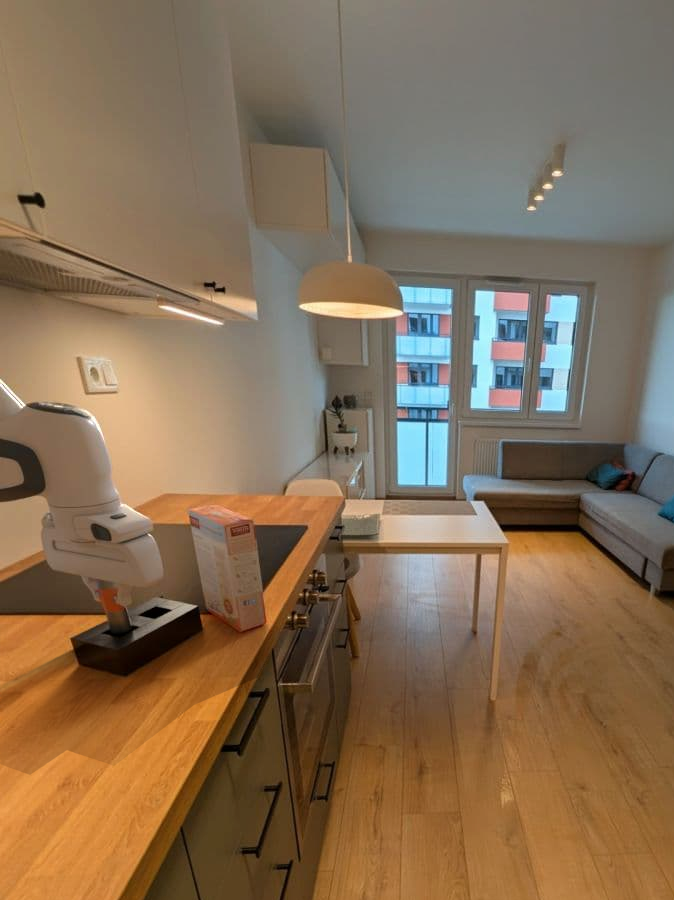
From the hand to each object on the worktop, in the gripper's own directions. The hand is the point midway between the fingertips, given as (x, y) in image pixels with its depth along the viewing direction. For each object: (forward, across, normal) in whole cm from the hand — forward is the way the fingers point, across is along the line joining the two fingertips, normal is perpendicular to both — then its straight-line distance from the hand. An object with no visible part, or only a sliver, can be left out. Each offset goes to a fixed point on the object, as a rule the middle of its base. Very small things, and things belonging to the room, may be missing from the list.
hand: (113, 602), depth 82 cm
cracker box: (+10, +7, +18) cm, 22 cm away
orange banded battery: (+5, 0, 0) cm, 5 cm away
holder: (+10, 0, +3) cm, 11 cm away
